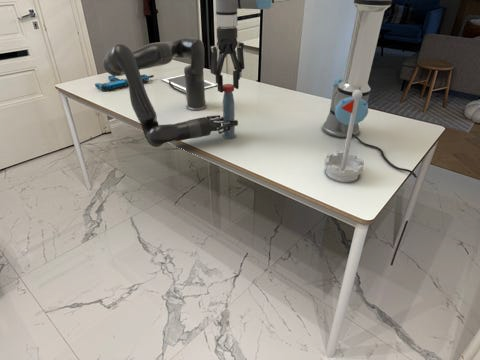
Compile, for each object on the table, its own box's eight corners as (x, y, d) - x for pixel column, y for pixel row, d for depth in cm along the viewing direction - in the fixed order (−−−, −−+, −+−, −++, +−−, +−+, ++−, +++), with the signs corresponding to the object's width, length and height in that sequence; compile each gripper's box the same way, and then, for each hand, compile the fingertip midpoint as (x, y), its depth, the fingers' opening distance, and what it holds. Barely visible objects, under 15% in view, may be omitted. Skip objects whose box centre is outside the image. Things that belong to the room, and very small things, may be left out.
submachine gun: (139, 68, 225) (158, 74, 208) (140, 74, 226) (158, 80, 210) (87, 78, 206) (103, 86, 189) (89, 84, 208) (104, 92, 191)
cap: (223, 88, 137) (223, 83, 136) (234, 88, 136) (234, 84, 135) (221, 92, 133) (221, 87, 132) (233, 92, 133) (233, 87, 132)
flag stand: (346, 161, 127) (361, 81, 110) (369, 179, 117) (390, 94, 100) (316, 168, 123) (327, 86, 106) (337, 186, 113) (353, 99, 96)
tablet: (161, 80, 213) (161, 79, 212) (188, 74, 224) (188, 73, 223) (189, 92, 192) (189, 92, 192) (218, 85, 203) (218, 84, 203)
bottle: (232, 139, 143) (232, 89, 132) (222, 137, 144) (220, 88, 133) (236, 134, 147) (235, 86, 135) (225, 133, 148) (224, 84, 136)
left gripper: (203, 126, 129) (242, 117, 136) (189, 113, 140) (227, 106, 146) (204, 143, 133) (242, 134, 140) (191, 130, 144) (227, 122, 150)
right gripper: (242, 23, 129) (242, 82, 142) (197, 28, 120) (202, 91, 132) (254, 25, 124) (253, 87, 137) (208, 31, 115) (212, 97, 127)
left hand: (234, 120), depth 143 cm, fingers closed on bottle, 4 cm apart
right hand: (228, 89), depth 134 cm, fingers open, 7 cm apart
